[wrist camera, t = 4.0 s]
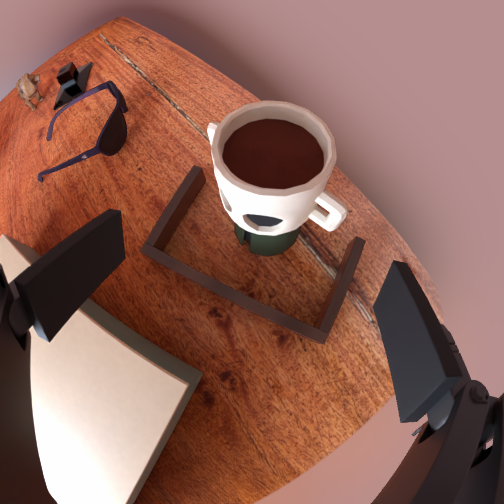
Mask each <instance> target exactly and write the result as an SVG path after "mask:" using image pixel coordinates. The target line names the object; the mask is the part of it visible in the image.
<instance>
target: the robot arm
mask: <svg viewBox="0 0 504 504" xmlns="http://www.w3.org/2000/svg"><path fill="white" fill-rule="evenodd" d="M125 259H126V257H125V248H124V239H123V228H122V216H121V211H120V210H114V209H108V210H107V211H105V212H104V213H102V214H100V215H99V216H97V217H96V218H94V219H93V220H91V221H90V222H88V223H87V224H86V225H84V226H83V227H81V228H80V229H78V230H77V231H75V232H74V233H73V234H71V235H70V236H68V237H67V238H66V239H64V240H63V241H62V242H60V243H59V244H58V245H56V246H55V247H54V248H52V249H51V250H50V251H48V252H47V253H45V254H44V255H42V256H41V257H40V258H38V259H37V261H35V262H33V263H32V264H31V266H29V267H27V268H26V269H25V270H24V271H23V272H21V273H20V274H19V275H18V276H17V277H16V278H14V279H13V280H12V281H11V282H10V283H9V284H8V281H7V278H6V275H5V273H4V270H3V267H2V265H1V263H0V504H58V502H57V501H56V500H55V499H54V497H53V496H52V495H51V494H50V492H49V490H48V488H47V484H46V481H45V477H44V473H43V469H42V465H41V460H40V456H39V451H38V445H37V440H36V433H35V426H34V418H33V409H32V396H31V333H30V331H29V329H30V328H31V327H32V326H33V327H34V329H35V331H36V333H37V335H38V336H39V337H40V338H42V339H44V340H46V341H47V342H49V343H50V342H51V341H52V339H53V338H54V337H55V336H56V334H57V333H58V332H59V331H60V330H61V328H62V327H63V326H64V325H65V324H66V322H67V321H68V320H69V319H70V318H71V317H72V315H73V314H74V313H75V312H76V311H77V310H78V309H79V307H80V306H81V305H82V304H83V303H84V302H85V301H86V300H87V299H88V297H89V296H90V295H91V294H92V293H93V292H94V291H95V290H96V289H97V288H98V287H99V286H100V284H101V283H102V282H103V281H104V280H105V279H106V278H107V277H108V276H109V275H110V274H111V273H112V272H113V271H114V270H115V269H116V268H117V267H118V266H119V265H120V264H121V263H122V262H123V261H124V260H125ZM373 308H374V312H375V315H376V318H377V322H378V325H379V329H380V332H381V336H382V340H383V344H384V347H385V351H386V355H387V359H388V363H389V368H390V372H391V376H392V381H393V385H394V390H395V395H396V400H397V405H398V411H399V417H400V422H401V423H406V422H417V421H418V420H419V419H421V418H422V417H423V416H424V415H425V414H426V413H427V416H428V421H427V422H426V423H424V424H423V425H422V426H421V427H420V428H418V429H417V430H416V431H415V432H414V433H413V434H412V435H413V436H414V435H416V434H417V433H418V432H419V434H418V436H417V438H416V439H415V441H414V443H413V444H412V446H411V448H410V450H409V451H408V453H407V455H406V456H405V458H404V459H403V461H402V462H401V464H400V465H399V467H398V468H397V470H396V471H395V473H394V474H393V476H392V477H391V478H390V480H389V481H388V483H387V484H386V486H385V487H384V488H383V489H382V491H381V492H380V493H379V495H378V496H377V497H376V499H375V500H374V501H373V502H372V503H371V504H504V393H503V394H502V395H501V396H500V397H499V398H496V397H492V396H489V393H488V391H487V389H486V387H485V386H484V385H483V384H482V383H481V382H479V381H476V380H471V378H470V375H469V373H468V371H467V368H466V366H465V363H464V361H463V359H462V356H461V354H460V353H459V350H458V348H457V346H456V345H455V341H454V339H453V337H452V335H451V333H450V332H449V331H448V330H447V329H446V327H445V326H444V325H442V324H440V322H439V320H438V318H437V316H436V314H435V313H434V311H433V309H432V307H431V305H430V303H429V301H428V299H427V297H426V296H425V294H424V292H423V290H422V288H421V287H420V285H419V283H418V281H417V280H416V278H415V276H414V274H413V273H412V271H411V269H410V268H409V266H408V264H407V263H404V262H399V261H395V260H393V262H392V264H391V267H390V269H389V272H388V274H387V276H386V279H385V281H384V283H383V286H382V288H381V290H380V292H379V295H378V297H377V299H376V301H375V303H374V305H373ZM491 439H493V445H492V446H491V447H489V448H488V449H486V443H487V442H489V441H490V440H491Z"/></svg>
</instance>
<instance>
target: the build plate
mask: <svg viewBox="0 0 504 504" xmlns="http://www.w3.org/2000/svg"><path fill="white" fill-rule="evenodd" d="M92 65H93V63H92V62H90V63H88V64H86V65H84V66H82V67H80V68H78V69H77V68H76V66H75V65H74V64H73V62H71V63H69V64H67V65H65V66H64V67H62V68H60V70H59V73H58V75H57V79H58V82H59V83H60V85H61V87H60V90H59V93H58V96H57V99H56V102H55V106H54V110H56V109H58V108H59V107H61V106H63V105H65V104H66V103H68V102H70V101H72V100H74V99H75V98H77V97H78V96H80V95H82V94H83V93H85V90H86V85H87V81H88V77H89V73H90V69H91V67H92Z"/></svg>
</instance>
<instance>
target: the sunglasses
mask: <svg viewBox="0 0 504 504" xmlns="http://www.w3.org/2000/svg"><path fill="white" fill-rule="evenodd" d="M106 88H108V89H109V91H110V92H111V93H112V95H113V96H114V97H115V98H116V99H117V103H116V107H115V109H114V110H113V112H112V114H111V115H110V117H109V119H108V120H107V122H106V124H105V126H104V128H103V129H102V131H101V133H100V135H99V137H98V140H97V143H96V146H95V147H94V148H92V149H90V150H88V151H86V152H83V153H82V154H80V155H78V156H76V157H74V158H72V159H70V160H68V161H66V162H64V163H62V164H60V165H58V166H56V167H53V168H51V169H48V170H45V171H42V172H40V173H39V174H38V181H40V182H43V178H42V176H43V175H46V174H49V173H52V172H55V171H58V170H60V169H63V168H65V167H68V166H70V165H73V164H75V163H77V162H80V161H82V160H84V159H87V158H89V157H91V156H94V155H96V154H98V153H100V152H101V153H102V154H104V155H107V156H112V155H114V154H116V153H117V152H118V151H119V150H120V149H121V148H122V146H123V145H124V143H125V140H126V137H127V125H126V121H125V118H124V115H123V113H126V112H127V111H128V108H127V106H126V103H125V99H124V97H123V95H122V93H121V92H120V90H119V89H118V88H117V87H116V85H115V84H114V83H113V82H112V81H108V82H105V83H103V84H101V85H99V86H97V87H95V88H93V89H91V90H89V91H87V92H85V93H83V94H82V95H80V96H78V97H77V98H75V99H74V100H72V101H71V102H69V103H68V104H67V105H65V106H64V107H63V108H62V109H60V110H59V111H58V112H57V113H56V114H55V116H54V117H53V119H52V121H51V123H50V126H49V129H48V133H47V138H46V139H47V141H50V140H51V138H52V131H53V125H54V122H55V120H56V118H57V117H58V116H59V115H60V114H61V113H62V112H63V111H64V110H66V109H67V108H68V107H70V106H71V105H73V104H75V103H76V102H78V101H80V100H82V99H84V98H86V97H88V96H90V95H92V94H94V93H96V92H98V91H101V90H103V89H106ZM108 154H109V155H108Z"/></svg>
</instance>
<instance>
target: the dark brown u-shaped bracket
mask: <svg viewBox="0 0 504 504" xmlns="http://www.w3.org/2000/svg"><path fill="white" fill-rule="evenodd" d="M205 181H206V179H205V176H204V173H203V170H202V168H201V167H198V166H195V165H194V166H193V167H192V169H191V170H190V172H189V173H188V175H187V176H186V178H185V179H184V181H183V182H182V184H181V185H180V187H179V188H178V190H177V191H176V193H175V194H174V196H173V197H172V199H171V200H170V202H169V204H168V205H167V207H166V208H165V210H164V212H163V213H162V215H161V216H160V218H159V220H158V221H157V223H156V225H155V226H154V228H153V230H152V231H151V233H150V235H149V237H148V238H147V240H146V242H145V243H144V245H143V247H142V248H141V250H140V252H141V253H142V254H144V255H145V256H147V257H148V258H149V259H151V260H153V261H155V262H156V263H158V264H160V265H162V266H164V267H165V268H167V269H169V270H171V271H173V272H174V273H176V274H178V275H180V276H182V277H184V278H185V279H187V280H189V281H191V282H193V283H195V284H197V285H198V286H200V287H202V288H204V289H206V290H208V291H210V292H212V293H214V294H216V295H218V296H219V297H221V298H223V299H225V300H227V301H229V302H231V303H233V304H235V305H237V306H239V307H241V308H243V309H245V310H247V311H249V312H251V313H253V314H255V315H258V316H260V317H262V318H264V319H266V320H268V321H270V322H272V323H274V324H276V325H278V326H281V327H283V328H285V329H287V330H289V331H291V332H294V333H296V334H298V335H300V336H302V337H305V338H307V339H309V340H311V341H313V342H316V343H319V344H323V345H324V344H325V341H326V339H327V337H328V335H329V334H328V333H330V330H331V328H332V326H333V324H334V321H335V319H336V317H337V314H338V312H339V310H340V307H341V305H342V302H343V300H344V298H345V295H346V293H347V290H348V288H349V285H350V283H351V280H352V277H353V275H354V272H355V269H356V267H357V264H358V261H359V258H360V256H361V253H362V250H363V247H364V244H365V240H363V239H361V238H359V237H357V236H356V237H355V238H354V239H353V240H352V241H351V242H350V243H349V244H348V247H347V249H346V252H345V254H344V257H343V260H342V262H341V265H340V267H339V270H338V272H337V275H336V277H335V280H334V282H333V284H332V287H331V289H330V292H329V294H328V296H327V299H326V301H325V303H324V306H323V308H322V310H321V312H320V315H319V317H318V319H317V321H316V323H315V325H314V327H313V326H311V325H308V324H306V323H304V322H302V321H300V320H298V319H295V318H293V317H291V316H289V315H287V314H285V313H283V312H280V311H278V310H276V309H274V308H272V307H270V306H268V305H266V304H264V303H262V302H260V301H257V300H255V299H253V298H251V297H249V296H247V295H245V294H243V293H241V292H239V291H237V290H235V289H233V288H231V287H229V286H227V285H225V284H223V283H221V282H219V281H217V280H215V279H213V278H211V277H209V276H208V275H206V274H204V273H202V272H200V271H198V270H196V269H194V268H192V267H190V266H188V265H186V264H184V263H183V262H181V261H179V260H177V259H175V258H173V257H171V256H169V255H168V254H166V253H164V252H163V251H164V249H165V247H166V245H167V244H168V242H169V240H170V238H171V237H172V235H173V233H174V232H175V230H176V228H177V226H178V225H179V223H180V221H181V220H182V218H183V216H184V215H185V213H186V211H187V210H188V208H189V207H190V205H191V203H192V202H193V200H194V199H195V197H196V195H197V194H198V192H199V191H200V189H201V188H202V186H203V184H204V183H205Z"/></svg>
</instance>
